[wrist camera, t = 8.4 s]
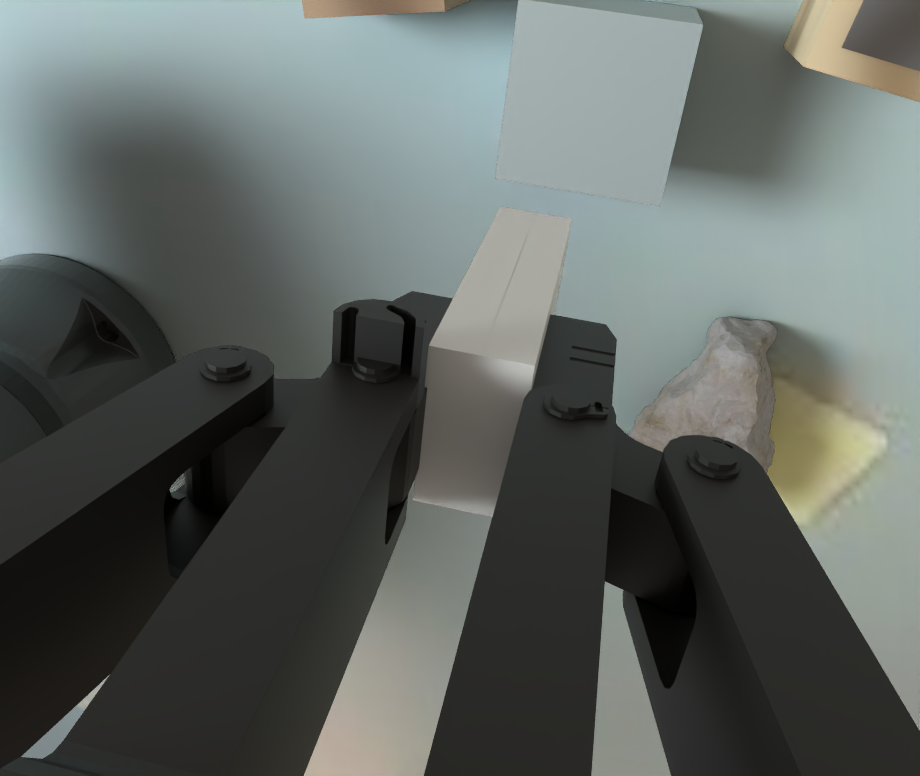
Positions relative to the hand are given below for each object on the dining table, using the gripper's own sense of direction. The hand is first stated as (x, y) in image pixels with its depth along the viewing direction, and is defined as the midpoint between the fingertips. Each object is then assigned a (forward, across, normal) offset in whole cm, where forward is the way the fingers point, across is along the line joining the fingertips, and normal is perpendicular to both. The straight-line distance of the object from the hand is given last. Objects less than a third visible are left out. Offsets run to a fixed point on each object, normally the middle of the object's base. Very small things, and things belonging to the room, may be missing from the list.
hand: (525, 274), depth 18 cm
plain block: (+25, 0, 0) cm, 25 cm away
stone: (+26, +10, -15) cm, 31 cm away
